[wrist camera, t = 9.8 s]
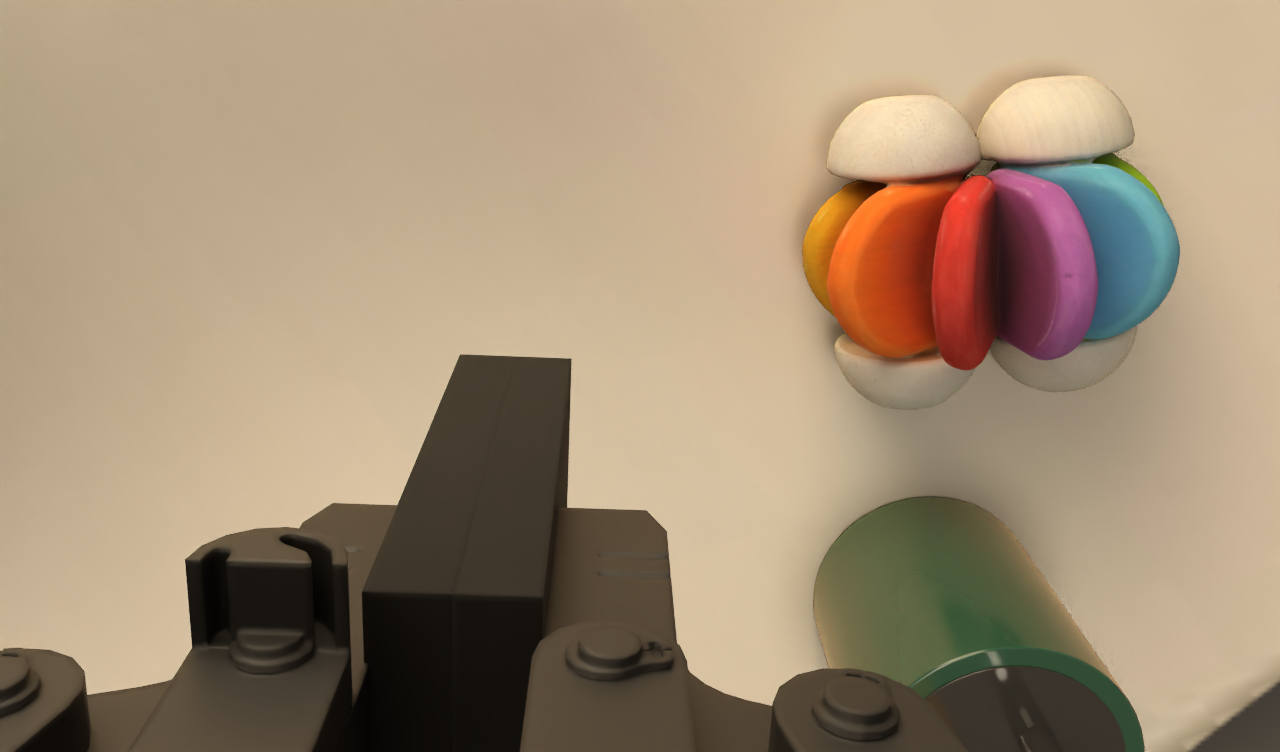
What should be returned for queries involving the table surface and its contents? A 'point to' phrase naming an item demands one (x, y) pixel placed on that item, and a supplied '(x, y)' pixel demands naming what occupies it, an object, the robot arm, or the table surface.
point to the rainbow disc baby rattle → (988, 242)
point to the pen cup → (968, 630)
